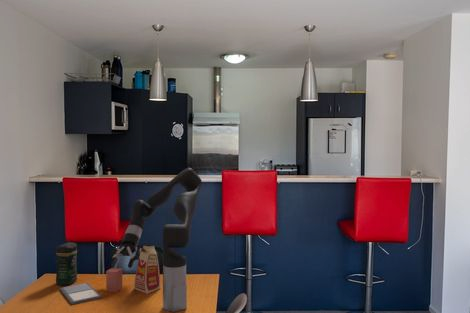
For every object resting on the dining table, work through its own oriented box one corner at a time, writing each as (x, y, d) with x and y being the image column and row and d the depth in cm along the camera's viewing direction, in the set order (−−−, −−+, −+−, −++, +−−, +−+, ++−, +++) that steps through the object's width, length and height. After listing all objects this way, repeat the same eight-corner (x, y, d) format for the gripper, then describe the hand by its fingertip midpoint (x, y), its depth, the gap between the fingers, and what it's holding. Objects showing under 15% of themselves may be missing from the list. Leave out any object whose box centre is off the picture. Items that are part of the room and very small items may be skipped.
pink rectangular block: (122, 288, 182) (122, 268, 182) (116, 292, 178) (116, 272, 177) (112, 287, 184) (112, 267, 183) (106, 291, 179) (106, 271, 179)
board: (101, 298, 170) (101, 295, 170) (71, 304, 163) (71, 301, 163) (87, 285, 186) (87, 282, 186) (60, 290, 179) (60, 287, 179)
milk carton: (146, 293, 176) (146, 248, 176) (133, 289, 182) (133, 245, 181) (162, 287, 183) (162, 244, 183) (148, 283, 189) (148, 241, 189)
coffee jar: (69, 286, 184) (69, 246, 184) (53, 285, 185) (53, 245, 185) (80, 279, 194) (79, 241, 194) (64, 278, 195) (64, 240, 195)
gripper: (148, 241, 198) (137, 271, 187) (122, 240, 201) (110, 269, 191) (142, 232, 193) (131, 263, 182) (116, 231, 196) (103, 261, 185)
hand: (120, 266), depth 186 cm, fingers open, 8 cm apart
